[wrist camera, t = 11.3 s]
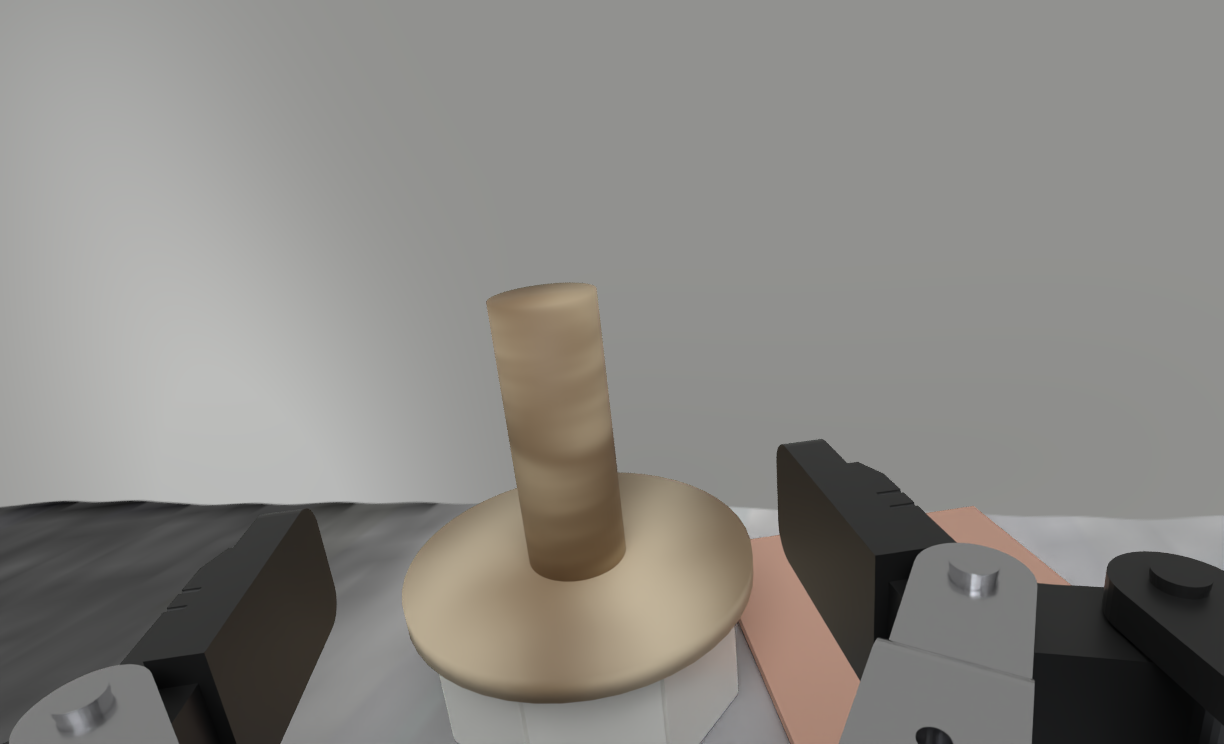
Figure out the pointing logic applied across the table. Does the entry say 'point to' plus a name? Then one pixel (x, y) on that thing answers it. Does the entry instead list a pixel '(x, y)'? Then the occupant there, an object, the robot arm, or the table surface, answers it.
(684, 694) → the bowl
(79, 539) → the table surface
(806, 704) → the mat
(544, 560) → the paper towel holder
